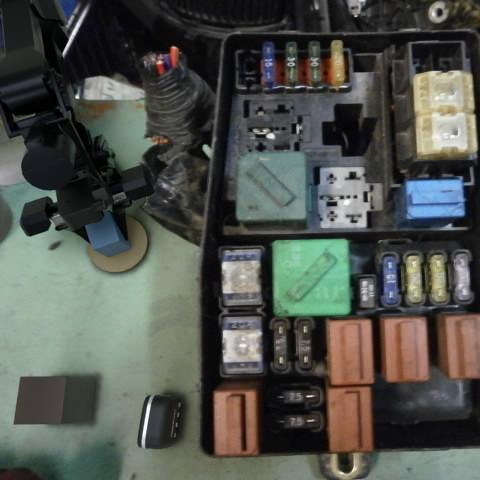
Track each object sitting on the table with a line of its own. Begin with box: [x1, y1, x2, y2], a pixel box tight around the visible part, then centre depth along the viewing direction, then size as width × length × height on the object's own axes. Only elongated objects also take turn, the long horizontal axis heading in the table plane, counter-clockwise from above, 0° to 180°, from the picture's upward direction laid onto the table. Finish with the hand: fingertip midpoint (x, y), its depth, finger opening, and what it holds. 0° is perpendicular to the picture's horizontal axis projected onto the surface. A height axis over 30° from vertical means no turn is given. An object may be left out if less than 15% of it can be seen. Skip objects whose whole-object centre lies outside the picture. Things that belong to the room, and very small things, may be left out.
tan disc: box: [86, 215, 149, 273], centre depth 87 cm, size 9×9×1 cm
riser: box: [13, 375, 97, 426], centre depth 75 cm, size 6×6×11 cm
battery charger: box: [136, 393, 184, 450], centre depth 75 cm, size 7×4×11 cm, turn 175°
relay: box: [85, 209, 132, 257], centre depth 83 cm, size 4×5×7 cm
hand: (113, 244), depth 84 cm, fingers closed on relay, 4 cm apart
